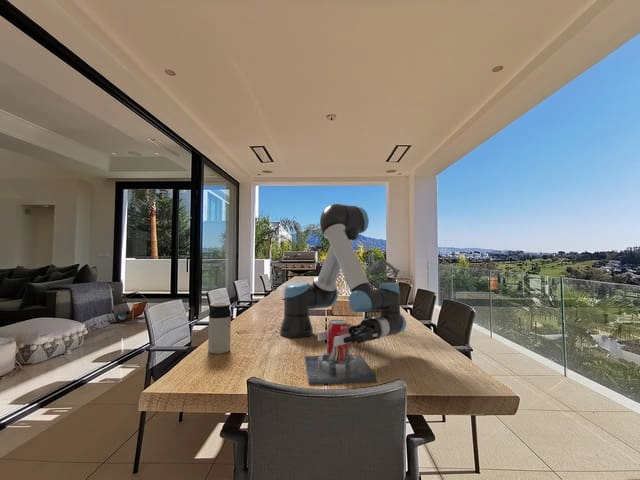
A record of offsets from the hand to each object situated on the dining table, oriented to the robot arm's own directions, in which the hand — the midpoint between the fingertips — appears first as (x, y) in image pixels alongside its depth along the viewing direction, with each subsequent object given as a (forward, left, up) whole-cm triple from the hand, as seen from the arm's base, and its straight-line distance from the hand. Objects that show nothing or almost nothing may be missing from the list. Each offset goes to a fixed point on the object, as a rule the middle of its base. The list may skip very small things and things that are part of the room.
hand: (326, 339), depth 99 cm
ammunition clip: (+37, +80, -11) cm, 89 cm away
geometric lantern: (+34, +55, -11) cm, 65 cm away
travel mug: (-38, +26, -11) cm, 47 cm away
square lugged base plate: (+4, +3, -11) cm, 12 cm away
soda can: (+4, +3, -7) cm, 9 cm away
